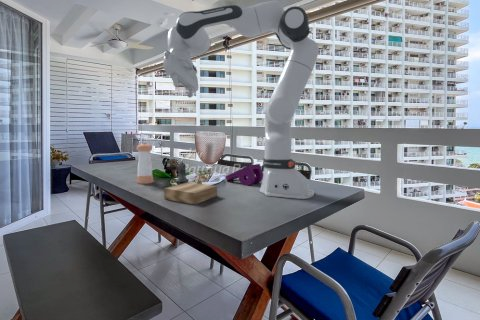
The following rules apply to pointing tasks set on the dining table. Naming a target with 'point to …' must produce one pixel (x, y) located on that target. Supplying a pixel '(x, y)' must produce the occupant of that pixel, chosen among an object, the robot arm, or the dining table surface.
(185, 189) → the stand
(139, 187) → the dining table surface
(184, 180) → the dark grey upright piece
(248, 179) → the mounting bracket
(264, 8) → the robot arm
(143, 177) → the salt shaker
